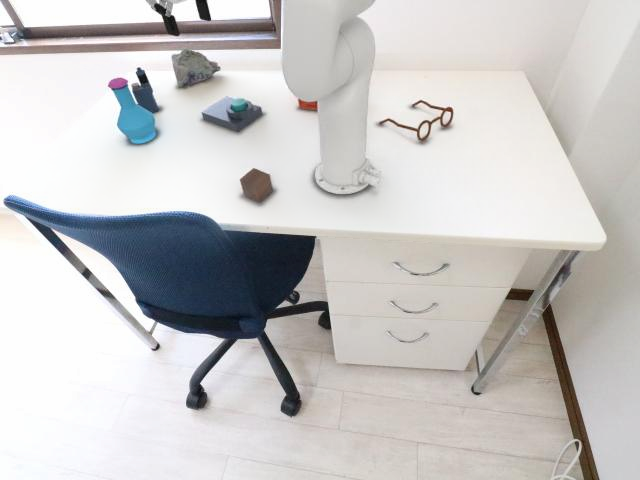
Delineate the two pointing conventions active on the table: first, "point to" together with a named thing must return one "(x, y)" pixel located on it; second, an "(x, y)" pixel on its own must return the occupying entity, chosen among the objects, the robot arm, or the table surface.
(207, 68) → the mineral rock
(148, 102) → the vaping device
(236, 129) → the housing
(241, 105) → the button
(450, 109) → the glasses
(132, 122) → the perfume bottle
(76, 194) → the table surface
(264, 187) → the block
